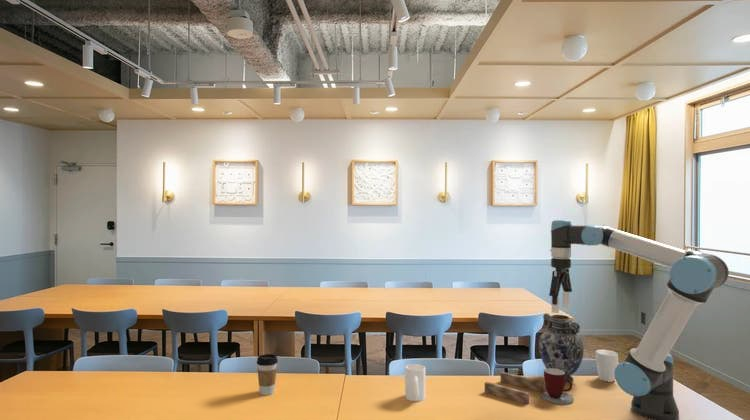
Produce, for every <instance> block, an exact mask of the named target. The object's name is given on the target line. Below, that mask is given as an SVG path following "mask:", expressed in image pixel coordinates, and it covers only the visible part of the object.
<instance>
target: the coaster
mask: <svg viewBox="0 0 750 420" xmlns="http://www.w3.org/2000/svg"><path fill="white" fill-rule="evenodd" d="M541 398H542V399H543V400H544V401H546V402H548V403H552V404H554V405H566V406H567V405H571V404H573V403H574V401H575V399H574V397H573V396H572V395H570V394H568V393H566V392H563V393H562V395H561V396H560V398H552V397H550V396H549V394H548V392H547V391H543V392H541Z"/></svg>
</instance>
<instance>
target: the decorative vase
mask: <svg viewBox="0 0 750 420" xmlns="http://www.w3.org/2000/svg"><path fill="white" fill-rule="evenodd" d="M542 319H543V322H544V324H545V329H544V331H543V332H542V333H541V334H540V335H539V339H538V351H539V355H540V356H539V357H540V359H541V360H542V363H543V366H545V369H547V368H554V369H559V370H562V371H564V372H565V377H566V379H569V380H570V381H571V383H573V382H574V381H575V379H574V377H573V374H575V373H576V372H577V371H578V370H579V369H580V366H581V364H582V362H583V358H584V347H585V346H584V342H583V339H582V338H581V336H580V335H579V334H578V333H580V330H581V327H580V324H579V323H577V322H576V321H573V320H572V319H570V317H569V316H568V315H563V314H552V315H550V313H544V314H543V318H542ZM565 384H569V383H568V382H566V381H565Z"/></svg>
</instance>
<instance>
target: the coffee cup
mask: <svg viewBox="0 0 750 420" xmlns="http://www.w3.org/2000/svg"><path fill="white" fill-rule="evenodd" d="M277 364H278V357H277V355H276V354H274V353H267V354H266V353H265V354H261V355H259V356H257V360H256V365H257V380H258V389H259V390H258V391H259V394H260V395H261V396H270V395H273V394H275V388H276V387H275V386H276V379H277V378H276V377H277Z"/></svg>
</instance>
